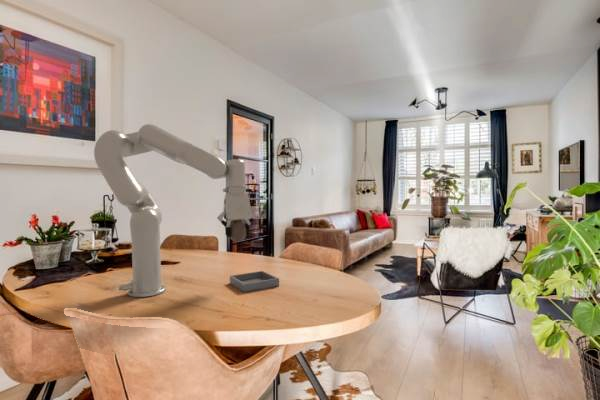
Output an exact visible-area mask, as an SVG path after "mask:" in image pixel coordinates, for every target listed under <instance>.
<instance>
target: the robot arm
mask: <svg viewBox="0 0 600 400" xmlns="http://www.w3.org/2000/svg"><path fill="white" fill-rule="evenodd" d="M93 150H94V151H93V153H94V154H93V155H94V161H95V163H96V165H97V168H98V169H99V171H100V173H101V175H102V176H103V177H104V178H103V179H105V182H106V183H107V185H108V186H109V188H110V190H111V192H113V195H114V197H115V198H116V200H117V202H118V203H119V204H121V205H122V206H124V207H126V208H127V209H128V211H129V213H130V214H131V216H130V218H129V219H130V220H129V229H130V235H131V236H130V237H131V261H132V262H131V263H132V267H131V268H132V279H131V281H130V282H128V283H126V284H123V283H122V284H118V291H122V292H124V291H128V296H130V297H132V298H133V297H134V298H146V297H147V298H148V297H154V296H157V295H160V294H163V293H164V292H165V291H166V290H167V288H166V285H164V284H162V264H161V263H162V259H161V256H162V255H161V235H160V234H161V233H160V225H161V223H162V220H163V219H162V213H161V211H160V209H159V207H158V206H157V203H156V202H155V200H154V199H153V198H152V195H151V194H150V192H149V191H148V189H147V188H146V186H145V185H144V184H142V183H141V182H138V181H137V179H136V178H135V176H134V175H133V173H132V172H131V169H130V168H129V167H128V165H127V164H126V162H125V160H124V158H128V157H132V156H137V155H142V154H146V153H149V152H155V153H157V154H159V155H162V156H164V157H165V158H168V159H170V160H172V161H174V162H176V163H179V164H181V165H186V166H188V167H191V168H193V169H195V170H197V171H200V172H201V173H203V174H205V175H207V177H209V178H210V179H212V180H218V179H219V180H220V179H225V184H226V185H225V186H226V187H225V188H223V189H222V191H223V193H225V194H224V198H223V199H224V200H223V211H222V212H221V213H220V214H219V215H218V216H217V220H218V221H219V223H220V224H221V225H223V226H224V229H225V235H226V237H227V238H230V237H231V227H230V225H231V224H232V222H233V220H241V221H242V220H243V221H242V222H243V223H244V225H245V227H246V236H249V235H250V232H251V231H250V230H251V229H250V226H251V224H252V223H253V221H254V219H255V218H256V217H257V214H256V213H255V212H254V211H252V208H251V202H250V197H249V194H248V193H247V190H246V189H247V188H246V187H247V186H246V184H247V183H246V164H245V161H244V160H242V159H228V160H227V161H226V160H225V161H224V160H223V159H221V158H219V157H218V156H216V155H214V154H212V153H211V152H208V151H206V150H204V149H202V148H200V147H199V146H196V145H193V144H192V143H190V142H188V141H186V140H184V139H182V138H180V137H178V136H176V135H174V134H173V133H170V132H168V131H167V130H165V129H162V128H161V127H159V126H157V125H154V124H151V123H150V124H149V123H148V124H144V125H142V126H141V127H139V129H138V131H135V132H130V133H126V134H125V133H123V132H121V131H119V130H107V131H105V132H103V133H102V134H101V136H99V138H98V139H97V141H96V142H95V146H94V149H93ZM223 218H224V219H223Z"/></svg>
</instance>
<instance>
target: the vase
mask: <svg viewBox="0 0 600 400" xmlns="http://www.w3.org/2000/svg"><path fill="white" fill-rule="evenodd" d="M230 227H231V237H229V238H230V240H231V241H233V242H243V241H244V240H245V238H246V236H247V235H246V227H245V222H244V221H242V220H232V221H231V223H230Z"/></svg>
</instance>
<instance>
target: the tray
mask: <svg viewBox="0 0 600 400" xmlns="http://www.w3.org/2000/svg"><path fill="white" fill-rule="evenodd" d="M230 283H231V284H230ZM229 284H230V285H232V286H233V285H234V286H233V287H234V288H236V287H237V288H236V289H238V290H239V289H240V292H242V291H243V292H242V293H248V292H247V291H250V292H254V291H253V290H255V291H260V290H259V289H261V290H265V289H264V288H266V289H271V288H270V287H272V288H275V287H276V286H277V287H279V286H280V278H279V277H276V276H274V275H273V274H271V273H270V272H269V273H268V272H266V271H264V270H260V271H253V272H245V273H238V274H234V275H229ZM277 287H276V288H277Z"/></svg>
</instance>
